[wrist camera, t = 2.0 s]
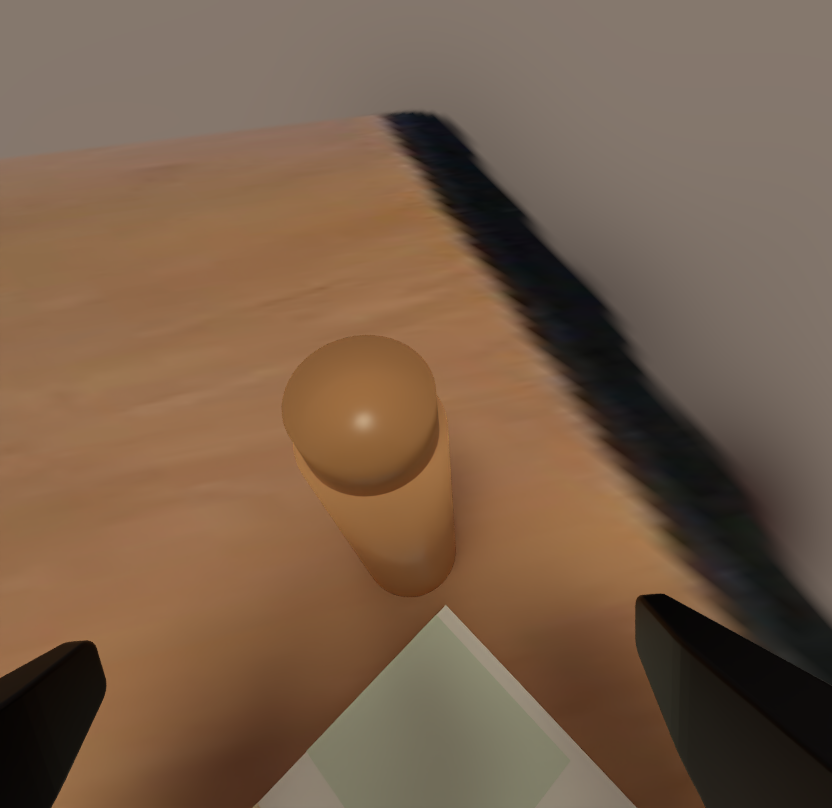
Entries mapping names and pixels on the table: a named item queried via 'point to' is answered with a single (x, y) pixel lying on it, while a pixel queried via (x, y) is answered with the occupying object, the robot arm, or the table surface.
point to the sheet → (445, 740)
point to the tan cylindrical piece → (377, 456)
